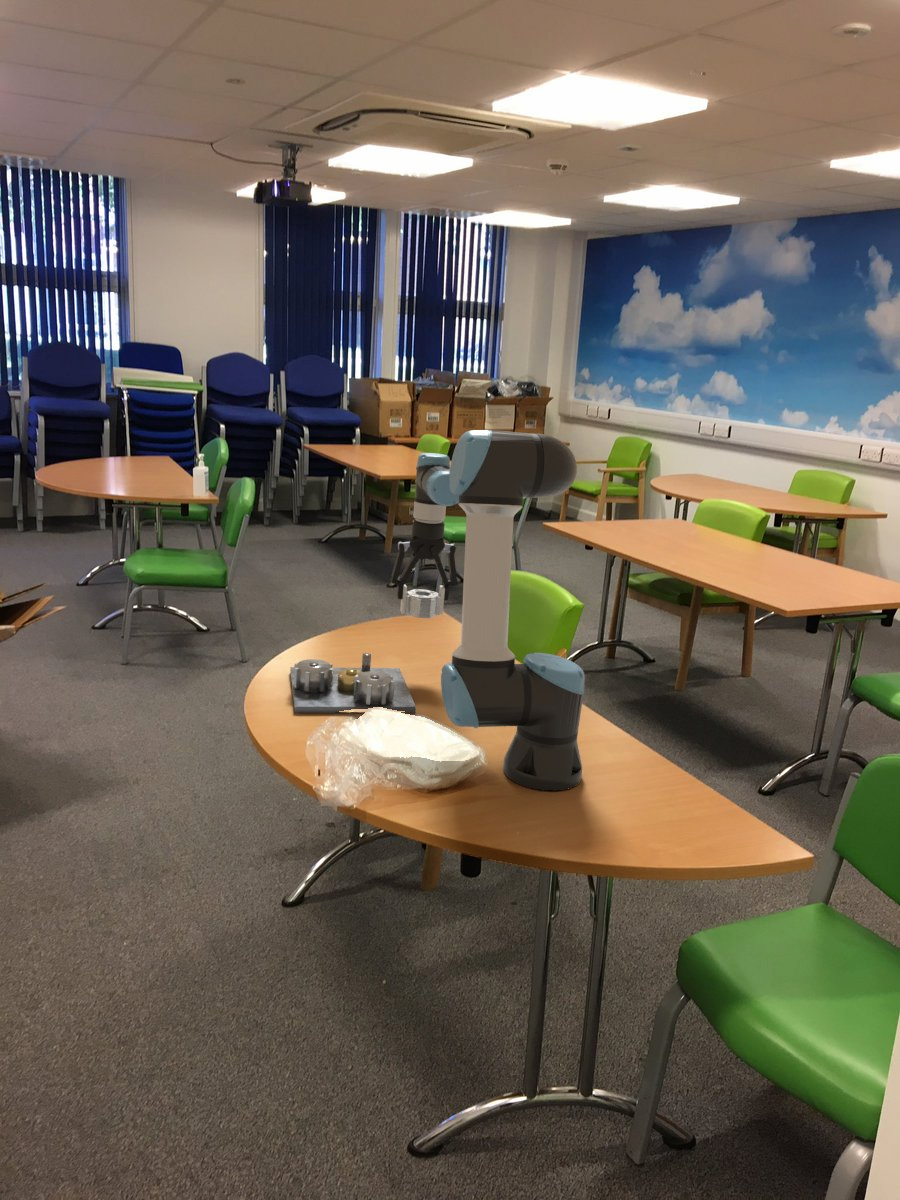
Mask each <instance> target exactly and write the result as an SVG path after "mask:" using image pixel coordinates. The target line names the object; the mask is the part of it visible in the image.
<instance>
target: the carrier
mask: <svg viewBox="0 0 900 1200" xmlns="http://www.w3.org/2000/svg"><path fill="white" fill-rule="evenodd" d="M361 661H362V662H361V667H333V664H332V663H331V662H330V663H329V662H328V661H326V660H321V659H315V658H314V659H303V660H301V661H299V662H295V663H294V665H293V666H291V667H290V671H289V675H290V681H291V682H290V683H291V684H290V685H291V692H292V698H293V699H292V701H293V708H294V709H293V710H294V714H336V713H335V712H339V711H344V710H351V709H368V708H373V707H383V708H387V709H392V710H397V711H405V712H408V713H407V714H416V711H417V706H416V704H415V702H414V699H413V696H412V694H411V693H410V689H409V687H408V685H407V683H406V680H405V678H404V676H403V674H402V672H401V669H400V668H398V667H397V668H396V667H371V662H372V653H368V652H364V653H362V659H361Z"/></svg>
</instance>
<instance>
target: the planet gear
mask: <svg viewBox="0 0 900 1200" xmlns="http://www.w3.org/2000/svg"><path fill="white" fill-rule="evenodd" d="M440 605H441V597H440V596H439V592H436V591H433V590H430V589H415V588H413V589H411V590H407V594H406V607H405V615H407V616H409V617H410V616H411V617H413V618H417V619H432V618H435V617H437V616H440V615H441V614H440Z"/></svg>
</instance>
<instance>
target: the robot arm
mask: <svg viewBox="0 0 900 1200" xmlns="http://www.w3.org/2000/svg"><path fill="white" fill-rule="evenodd" d="M577 465H578V464H577V460H576V457H575V455H574V453H573V451H572V449H570V447H568V445H567V444H565V443H564V442H563V441H562V440H560V439H558V438H556V437H554V436H552V435H548V434H544V433H530V432H529V433H527V432H516V431H507V430H506V431H505V430H493V429H492V430H491V429H483V430H481V429H480V430H479V429H477V430H475V429H474V430H467V431H466V432H464V433H463V434H462V435H460V437H459V439H458V441H457V443H456V445H455V448H454V450H453V454H452V458H451V460H450V457H449V455H446V454H442V453H435V452H423V453H420V454H418V457H417V462H416V466H415V469H416V474H415V489H414V503H413V512H412V513H413V514H412V517H413V518H414V519H413V520H412V525H411V526H412V528H411V537H410V539H409V541H404V542H402V541H400V540H399V541H398V542H397V554H396V558H395V561H394V564H393V568H392V573H391V574H390V575H391V576H390V581H391V583H392V584H394V585H397V590H396V592H397V594H396V596H397V599H398V600H400V607H399V610H400V613H401V614H402V615H403V614H405V607H406V594H407V591H408V586H407V585H406V583H407V581H408V579H409V578H410V576H411V574H412V572H413V570H414V568H415V567H416V565H417V563H418V562H419V561H420V560H431V561H432V560H433V562H434V563H435V566H436V570H437V571H438V574H439V577H440V580H441V582H442V584H443V585H440V584H439V592H438V593H439V596H440V597H441V605H440V615H441V616H442V615H443V614H444V605H445V603H444V602H445V601H448V600H449V591H450V588H451V587H453V586H455V587H456V586H457V585H458V576H457V569H456V560H455V553H456V550H457V547H456V546H455V544H453V543H452V542H451V543H445V541H444V535H445V522H444V521H445V520H446V512H447V511H446V510H447V507H452V506H454V505H456V504H457V505H458V506H459V507H460V508H461V509H462V510H463V511H464V513H465V515H466V518H465V519H466V521H465V522H466V523H465V540H464V541H465V542H464V545H465V546H464V565H463V567H464V568H463V587H462V589H463V590H462V607H461V608H462V611H461V612H462V613H461V633H460V634H461V635H460V645H458V647H456V648H455V650H453V651H452V653H451V656H452V657H451V662H448V663H446V664H443V666H442V668H441V675H440V686H441V687H440V688H441V695H442V701H443V705H444V709H445V712H446V716H447V717H448V719H449V721H450V722H451V723H452V724H453V725H455V726H456V727H460V728H461V727H464V728H465V727H466V728H474V729H478V728H487V727H489V728H490V727H492V728H493V727H494V728H495V727H516V731H515V735H514V737H513V738H512V740H511V742H510V744H509V747H508V749H507V751H506V753H505V755H504V759H503V766H502V767H503V768H502V769H503V773H504V775H505V776H506V777H507V778H508V779H509V780H511V781H512V782H514V783H516V784H518V785H520V786H523V787H525V788H528V787H529V788H528V789H532V788H533V790H537V789H541V790H540V791H544V790H561V791H565V789H567V790H569V789H568V788H570V789H573V788H575V787H577V784H578V783H579V782H580V783H581V781H582V775H583V763H582V760H581V755H580V750H579V745H578V734H579V727H580V720H581V713H582V707H583V700H584V694H585V691H586V690H585V677H586V676H585V672H584V670H583V668H581V667H580V665H578V664H577V663H576V662H573V661H572V660H570V659H568V658H565V657H563V656H559V655H556V654H551V653H545V652H531V653H528V654H526V655H525V656H524V659H523V663H516V655H515V654H514V653H513V652H512V651H511V650H510V649H509V647H508V639H509V637H508V636H509V618H510V617H509V615H510V598H511V596H510V595H511V577H512V574H511V573H512V557H513V555H512V554H513V538H514V537H513V535H514V531H513V530H514V517H515V515H516V514H517V513H518V512H519V511H521V510H522V509H523V501H524V499H526V498H527V499H528V498H530V499H531V498H534V499H538V498H550V497H555V496H559V495H562V494H563V493H565V492H567V490H568V489H570V488H571V487H572V485H573V483H574V482H575V479H576V476H577V471H578V470H577V469H578V466H577ZM409 548H410V549H411V551H412V553H411V555H410V558H409V560H408V562H407V563H406V565H405V566H404V567H405V568H404V570H403V571H402V573H401V575H400V572H401V569H402V565H403V561H404V557H405V553H406V552H407V551H408V549H409ZM444 549H445V553H447V562H448V570H449V579H448V577H447V574H446V572H445V568H444V567H443V563H442V561H441V558H440V555H439V554H441V552H442V551H444ZM399 575H400V576H399ZM405 615H406V614H405ZM580 783H579V784H580ZM579 784H578V785H579ZM574 786H575V787H574ZM572 787H573V788H572Z"/></svg>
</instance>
